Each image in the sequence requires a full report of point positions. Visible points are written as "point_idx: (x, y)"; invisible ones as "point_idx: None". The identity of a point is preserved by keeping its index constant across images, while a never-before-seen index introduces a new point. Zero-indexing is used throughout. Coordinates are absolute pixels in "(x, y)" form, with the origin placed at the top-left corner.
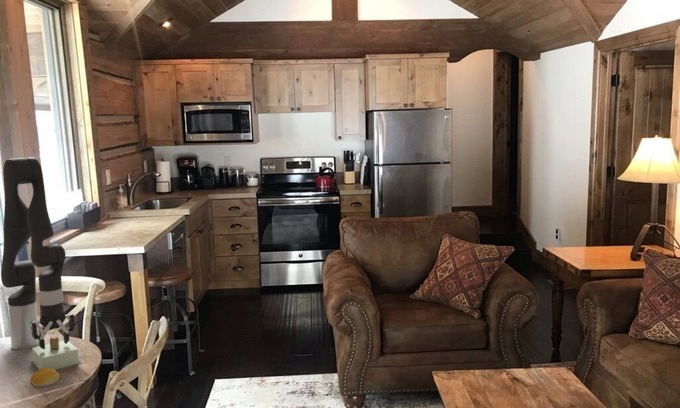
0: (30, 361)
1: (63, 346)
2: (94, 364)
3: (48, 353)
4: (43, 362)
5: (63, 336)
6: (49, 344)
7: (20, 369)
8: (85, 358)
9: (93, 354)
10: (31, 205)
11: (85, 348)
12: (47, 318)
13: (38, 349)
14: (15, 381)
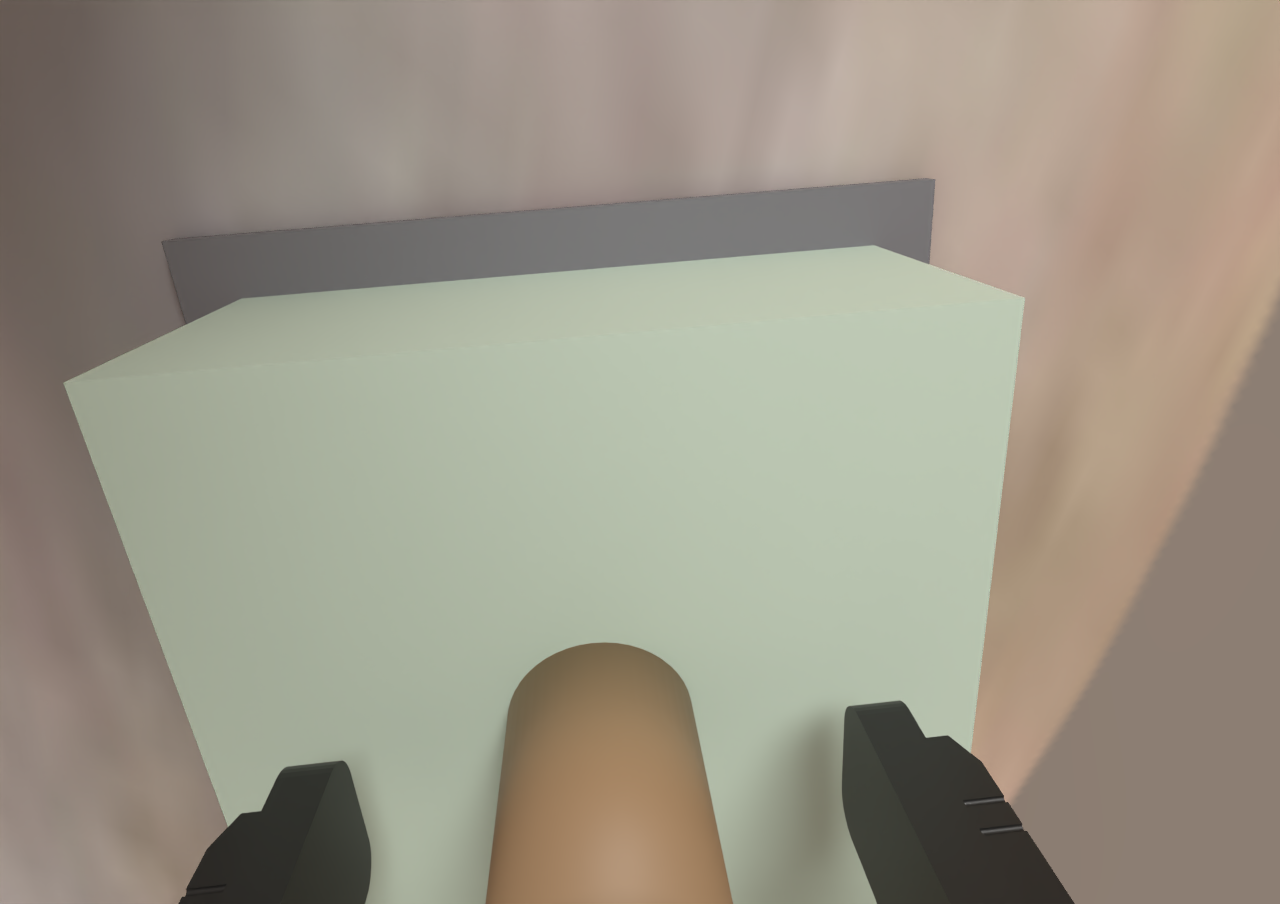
0: (193, 240)
1: (790, 692)
2: None
3: (446, 881)
4: None
5: (912, 835)
6: (536, 388)
7: (50, 450)
8: (1000, 577)
9: (1152, 499)
10: None
11: (1203, 145)
12: None
13: (245, 582)
14: (37, 806)
